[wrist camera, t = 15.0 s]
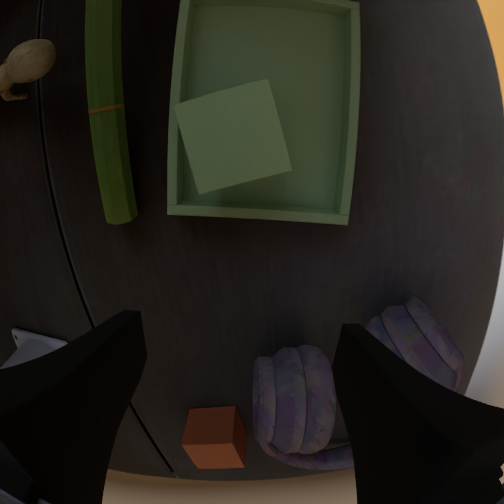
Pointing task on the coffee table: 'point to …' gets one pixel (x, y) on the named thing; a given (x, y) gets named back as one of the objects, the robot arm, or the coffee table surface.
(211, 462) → the terracotta block
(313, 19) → the sage tray
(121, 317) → the robot arm
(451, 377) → the headphones
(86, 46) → the decorative plant
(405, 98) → the coffee table surface
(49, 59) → the figurine
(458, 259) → the coffee table surface
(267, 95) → the sage block
